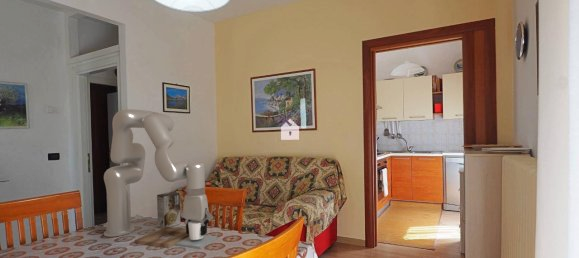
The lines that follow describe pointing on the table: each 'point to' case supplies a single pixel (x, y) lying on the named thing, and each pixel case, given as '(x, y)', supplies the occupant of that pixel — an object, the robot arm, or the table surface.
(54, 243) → the table surface
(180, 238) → the pocket board
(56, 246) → the table surface
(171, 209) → the coffee box
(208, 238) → the ceramic tile
